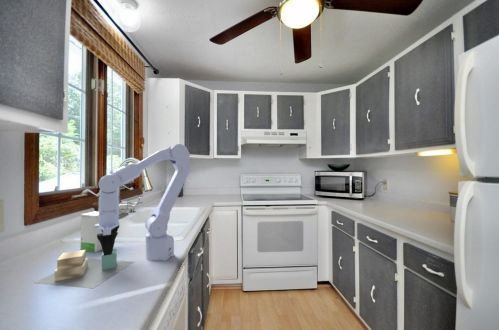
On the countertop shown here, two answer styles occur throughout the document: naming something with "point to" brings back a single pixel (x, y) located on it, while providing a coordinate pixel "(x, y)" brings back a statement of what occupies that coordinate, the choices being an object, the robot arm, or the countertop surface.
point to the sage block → (109, 260)
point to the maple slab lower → (71, 272)
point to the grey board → (88, 275)
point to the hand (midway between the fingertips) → (109, 250)
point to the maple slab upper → (71, 259)
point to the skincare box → (90, 232)
